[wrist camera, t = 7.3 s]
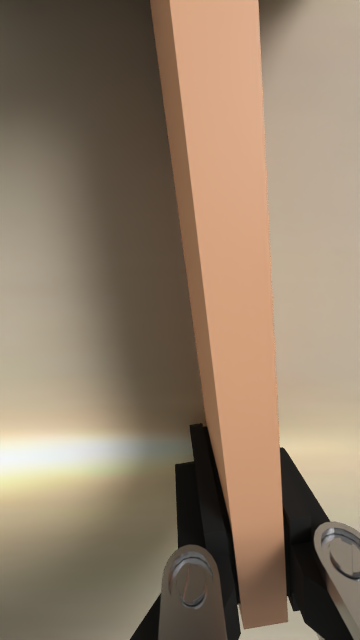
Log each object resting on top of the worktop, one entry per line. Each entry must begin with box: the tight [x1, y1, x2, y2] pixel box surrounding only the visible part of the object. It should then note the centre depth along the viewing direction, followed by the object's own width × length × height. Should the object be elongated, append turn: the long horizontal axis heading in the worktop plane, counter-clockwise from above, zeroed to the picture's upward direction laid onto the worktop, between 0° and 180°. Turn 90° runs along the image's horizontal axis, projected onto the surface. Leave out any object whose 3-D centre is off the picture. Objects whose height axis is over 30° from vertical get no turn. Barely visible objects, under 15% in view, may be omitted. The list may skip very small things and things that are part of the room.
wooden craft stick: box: [150, 0, 288, 629], centre depth 6 cm, size 1×19×4 cm, turn 8°
